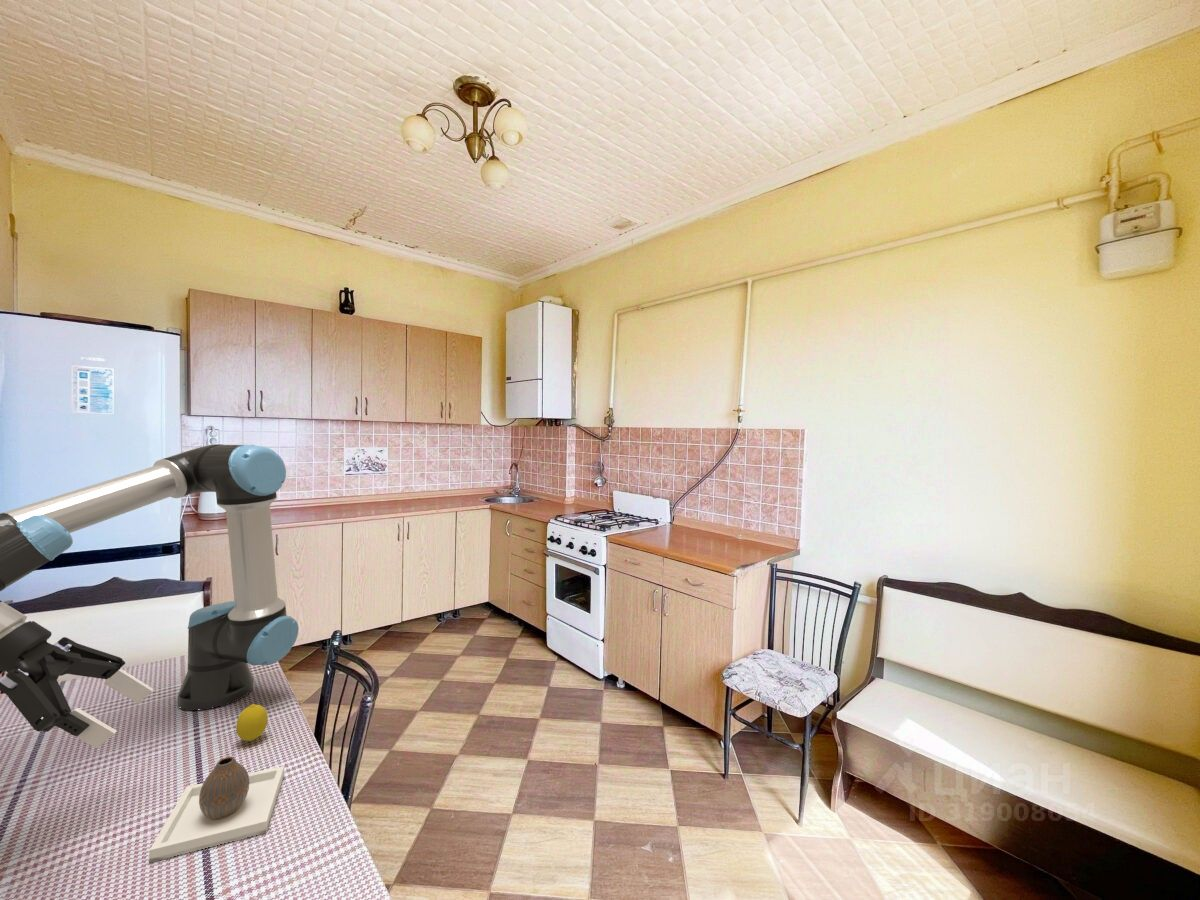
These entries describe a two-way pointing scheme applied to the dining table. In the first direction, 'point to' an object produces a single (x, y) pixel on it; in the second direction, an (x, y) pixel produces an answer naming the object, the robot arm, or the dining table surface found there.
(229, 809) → the vase
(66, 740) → the dining table surface
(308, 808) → the dining table surface
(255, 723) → the lemon
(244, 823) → the holder tray
